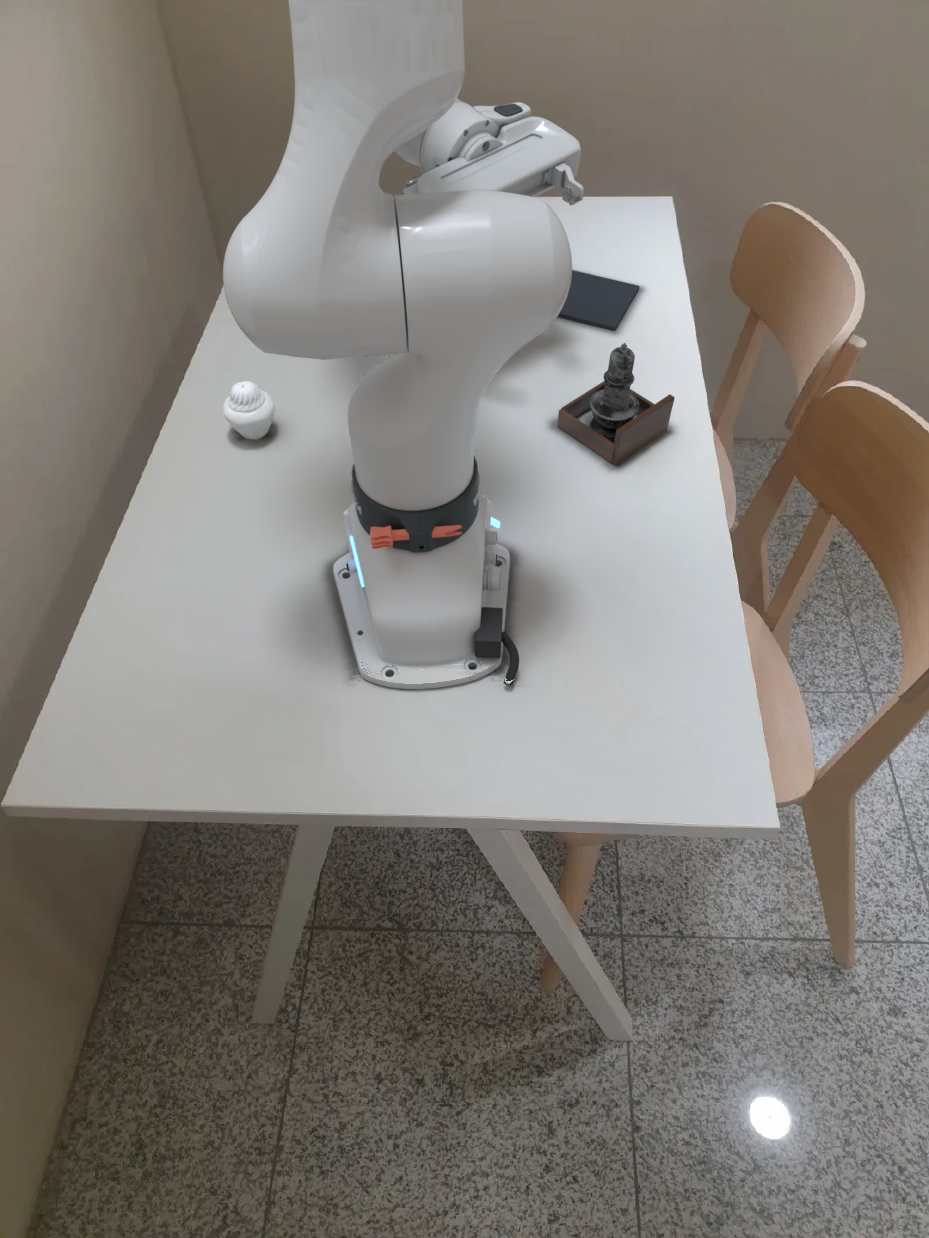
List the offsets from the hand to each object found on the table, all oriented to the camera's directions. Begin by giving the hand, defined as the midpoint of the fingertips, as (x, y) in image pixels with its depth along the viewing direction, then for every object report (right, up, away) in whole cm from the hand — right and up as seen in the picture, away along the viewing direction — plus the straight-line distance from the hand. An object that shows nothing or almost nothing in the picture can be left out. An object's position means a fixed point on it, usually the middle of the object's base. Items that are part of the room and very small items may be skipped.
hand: (547, 213), depth 91 cm
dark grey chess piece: (+9, -21, +12) cm, 25 cm away
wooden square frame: (+9, -21, +12) cm, 25 cm away
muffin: (-35, -21, +12) cm, 42 cm away
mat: (+9, +1, +28) cm, 29 cm away
